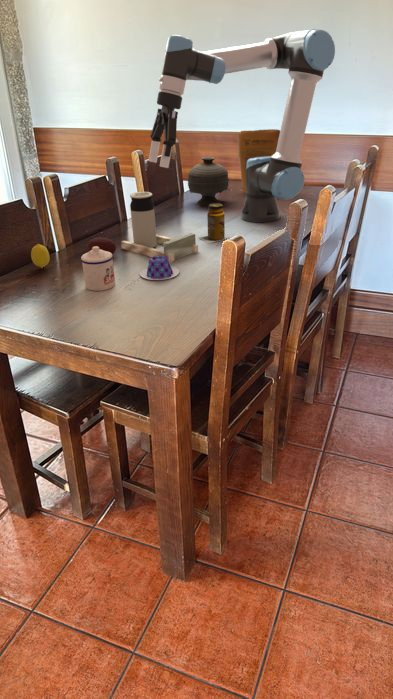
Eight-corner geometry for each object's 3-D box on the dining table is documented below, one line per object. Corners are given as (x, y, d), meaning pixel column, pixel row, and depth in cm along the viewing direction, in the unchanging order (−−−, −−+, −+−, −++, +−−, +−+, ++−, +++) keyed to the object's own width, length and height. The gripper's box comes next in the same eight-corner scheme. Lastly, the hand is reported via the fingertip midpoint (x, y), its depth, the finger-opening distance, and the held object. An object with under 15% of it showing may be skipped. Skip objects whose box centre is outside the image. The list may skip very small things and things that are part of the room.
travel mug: (161, 245, 185) (157, 193, 177) (144, 251, 180) (140, 198, 172) (146, 241, 190) (142, 190, 181) (129, 247, 185) (124, 194, 176)
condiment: (229, 238, 190) (229, 205, 184) (210, 243, 186) (209, 209, 180) (217, 234, 195) (217, 201, 189) (198, 238, 191) (197, 205, 185)
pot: (237, 198, 238) (234, 152, 227) (217, 211, 225) (213, 163, 215) (203, 196, 246) (199, 151, 236) (182, 208, 234) (177, 162, 224)
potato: (94, 251, 183) (92, 233, 180) (121, 253, 180) (119, 235, 177) (84, 258, 177) (81, 240, 174) (111, 260, 174) (109, 242, 171)
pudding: (135, 272, 165) (133, 255, 162) (171, 265, 168) (170, 249, 166) (147, 285, 155) (145, 268, 152) (185, 277, 159) (184, 261, 156)
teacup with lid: (110, 292, 150) (105, 252, 145) (80, 291, 152) (74, 252, 146) (122, 276, 161) (118, 239, 155) (94, 275, 162) (89, 238, 156)
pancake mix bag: (277, 195, 243) (280, 130, 230) (237, 194, 248) (237, 130, 235) (279, 192, 249) (282, 128, 235) (240, 191, 254) (240, 128, 240)
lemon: (35, 272, 166) (31, 248, 163) (32, 267, 171) (27, 243, 167) (53, 269, 169) (49, 244, 165) (49, 264, 173) (44, 240, 169)
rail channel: (121, 248, 184) (120, 231, 181) (149, 239, 192) (147, 222, 189) (171, 262, 170) (169, 244, 167) (198, 251, 178) (197, 234, 175)
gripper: (148, 89, 172) (137, 157, 180) (171, 90, 151) (157, 167, 159) (170, 95, 175) (158, 162, 183) (195, 97, 154) (180, 172, 162)
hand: (157, 164), depth 171 cm, fingers open, 13 cm apart
